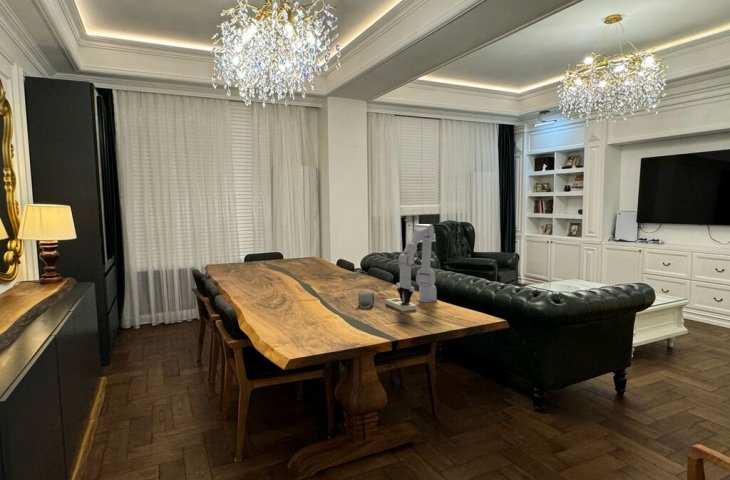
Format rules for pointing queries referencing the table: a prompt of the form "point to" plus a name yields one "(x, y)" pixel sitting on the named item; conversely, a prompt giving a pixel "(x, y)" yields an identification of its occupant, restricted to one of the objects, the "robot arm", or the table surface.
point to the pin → (403, 300)
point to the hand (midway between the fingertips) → (405, 302)
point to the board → (400, 305)
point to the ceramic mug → (366, 299)
